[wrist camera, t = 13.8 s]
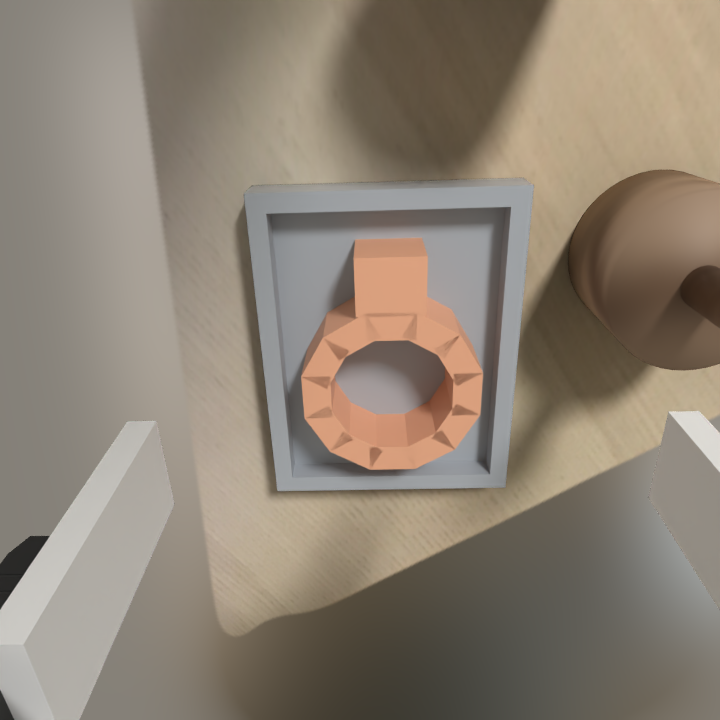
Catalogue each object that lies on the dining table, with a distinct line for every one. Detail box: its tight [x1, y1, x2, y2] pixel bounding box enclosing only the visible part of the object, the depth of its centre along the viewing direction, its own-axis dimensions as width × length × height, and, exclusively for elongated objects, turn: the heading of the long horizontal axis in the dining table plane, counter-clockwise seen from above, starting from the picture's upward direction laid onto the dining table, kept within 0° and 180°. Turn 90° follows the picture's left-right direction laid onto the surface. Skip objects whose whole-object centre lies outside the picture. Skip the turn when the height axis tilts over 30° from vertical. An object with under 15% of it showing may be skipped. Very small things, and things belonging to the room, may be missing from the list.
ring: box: [301, 238, 483, 470], centre depth 32 cm, size 12×9×4 cm
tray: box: [244, 178, 534, 491], centre depth 34 cm, size 18×14×2 cm
